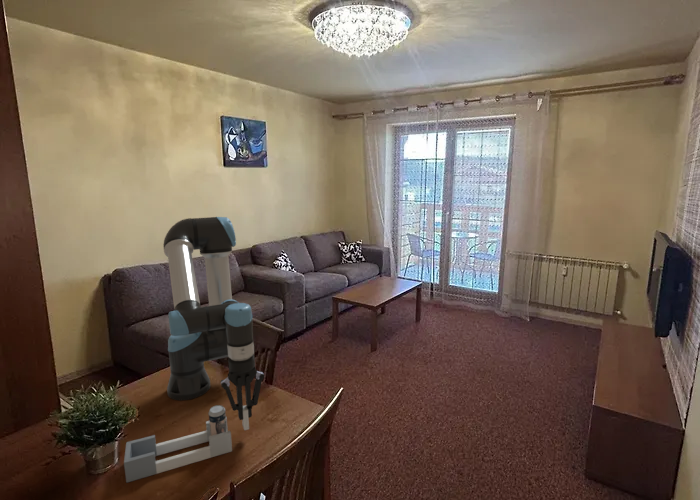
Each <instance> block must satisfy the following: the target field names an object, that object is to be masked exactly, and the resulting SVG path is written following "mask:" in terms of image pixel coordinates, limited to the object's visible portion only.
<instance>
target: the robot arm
mask: <svg viewBox="0 0 700 500" xmlns="http://www.w3.org/2000/svg"><path fill="white" fill-rule="evenodd" d="M236 245H237V236H236V233H235V229H234V226H233V223H232V221H231V219H230V218H228V217H227V216H213V217H193V218H191V217H190V218H189V217H188V218H184V219H181V220H179V221H177V222H176V223H175V224H174V225H172V226H171V227H170V228H169V230H167V233H166V235H165V237H164V240H163V252H164V255H165V256H166V257H167V261H168V268H169V276H170V284H171V292H172V293H171V294H172V300H173V302H172V303H173V309H174V310H173V311H169V312H168V314H167V315H168V324H169V325H168V326H169V327H168V328H169V334H170V336H169V337H168V340H167V346H168V347H167V351H168V359H169V369H170V370H169V371H170V376H169V380H168V383H167V388H166V390H167V396H168V398H170V399H172V400H173V401H188V400H193V399H197V398H199V397H200V396H203V395H204V394H206V393H207V392H208V391H209V390H210V388H211V379H210V377H209V374H208V372H207V371H206V369H205V362H209V361H215V360H218V359H224V358H227V363H228V373H227V377H226V378H225V379H221V380H220V385H221V388H222V389H224V391H225V392H226V396H227V398H228V400H229V404H230V406H231V409H232V411H237V416H238V419H239V421H242V428H243V430H244V431H248V430H250V422H249V421H250V420H249V418H252V416H253V414H252V413H253V412H252V410H253V407H254V406H257V405H258V403H259V398H260V392H261V387H262V382H263V380H264V379H265V374H264V371H258V370H257V368H256V362H255V346H254V329H253V327H254V325H253V312H252V306H251V305H250V304H249V303H245V302H239V301H237V300H235V299H233V295H232V282H231V271H230V270H231V269H230V260H229V257H230V255H231V254H232V252H233V248H234V247H236ZM195 250H197V251H198V250H199V255H201V256H202V257H203V258H204V263H205V274H206V277H205V278H206V285H207V297H208V305H206V306H201V302H200V296H199V290H198V284H197V278H196V277H197V276H196V272H195V267H194V265H195V264H194V262H193V260H194V259H193V253H194V251H195ZM254 378H255V380H254ZM253 380H254V381H255V382H254V385H253V386H254V387H253V390H252V391H253V392H252V391H251V389H252V388H251V386H252V385H251V384H252V382H253ZM230 382H231V383H232V384H233V385H234V386H235V387H236V402H237V403H235V400H234V397H233V394H232V391H231V388H230V385H231V384H230ZM243 386H244V391H245V393H244V394H245V405H244V403H243ZM251 392H252V393H251Z"/></svg>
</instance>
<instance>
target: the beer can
mask: <svg viewBox="0 0 700 500" xmlns="http://www.w3.org/2000/svg"><path fill="white" fill-rule="evenodd" d="M226 415H227V414H226V408H225V407H224V406H223V405H222V404H221V405H219V404H218V405H214V406H211V407H210V408H209V411H208V421H209V423H210V435H211V436H213V435H216V434H220V433H223V432H227V428H228V426H227V427H226V417H227V416H226Z"/></svg>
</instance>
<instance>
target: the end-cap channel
mask: <svg viewBox="0 0 700 500" xmlns="http://www.w3.org/2000/svg"><path fill="white" fill-rule="evenodd" d="M205 425H206V426H205V427H206V430H203V431H200V432H196V433H192V434H188V435H185V436H181V437H178V438H173V439H170V440H166V441H162V442H158V443H156V442H157V441H156V435H155V434H152V435H149V436H145V437H142V438H138V439H134V440H129V441H127V442H126V444H125V450H124V451H125V452H124V457H123V458H124V460H123V468H124V474H125V482H126V484H127V483H130V482H131V483H132V482H134V481H137V480H141V479H143V478H147V477H150V476H153V475H158V474H160V473H163V472H167V471H170V470H174V469H177V468H180V467H184V466H187V465H190V464H193V463H197V462H201V461H204V460H207V459H211V458H213V457H217V456H222V455H225V454H227V453H231V452H233V445H232V444H233V443H232V432H231V430H228V418H227V416H226V427H227V432H223V433H220V434H216V435H213V436H211V435H210V423H209V420H207V421H205ZM207 442H208V443H209V444H208V446H204V447H200V448H197V449H194V450H191V451H187V452H183V453H180V454H177V455H173V456H169V457H166V458H162V459H159V460H158V459H157V460H156V457H157V456H161V455H165V454H168V453H173V452H175V451H179V450H182V449H185V448H190V447H193V446H197V445H200V444H203V443H207Z"/></svg>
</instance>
